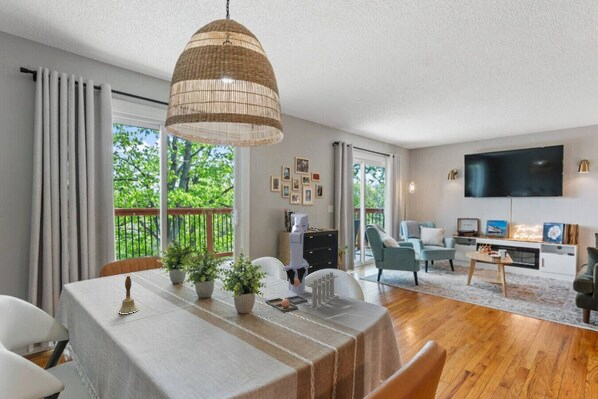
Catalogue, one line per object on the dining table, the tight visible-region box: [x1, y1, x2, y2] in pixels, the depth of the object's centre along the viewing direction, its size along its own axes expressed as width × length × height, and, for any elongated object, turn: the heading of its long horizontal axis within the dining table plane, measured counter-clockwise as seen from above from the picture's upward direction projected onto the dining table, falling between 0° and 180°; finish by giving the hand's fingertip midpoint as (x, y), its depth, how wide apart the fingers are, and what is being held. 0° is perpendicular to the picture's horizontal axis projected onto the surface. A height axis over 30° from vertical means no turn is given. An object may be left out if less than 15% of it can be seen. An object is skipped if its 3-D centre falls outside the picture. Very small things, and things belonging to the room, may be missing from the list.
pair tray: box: [265, 297, 299, 313], centre depth 147 cm, size 16×8×2 cm, turn 35°
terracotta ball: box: [293, 279, 300, 287], centre depth 155 cm, size 4×4×4 cm
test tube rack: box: [307, 271, 339, 311], centre depth 153 cm, size 25×4×13 cm, turn 149°
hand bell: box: [118, 275, 139, 313], centre depth 141 cm, size 8×8×16 cm
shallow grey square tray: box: [284, 294, 308, 305], centre depth 155 cm, size 8×8×2 cm
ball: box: [281, 298, 290, 308], centre depth 144 cm, size 4×4×4 cm
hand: (296, 283), depth 155 cm, fingers closed on terracotta ball, 4 cm apart
